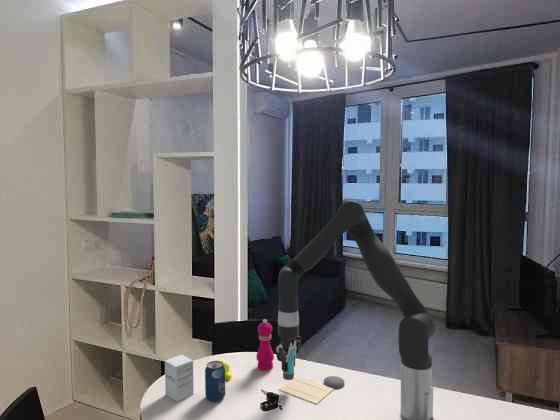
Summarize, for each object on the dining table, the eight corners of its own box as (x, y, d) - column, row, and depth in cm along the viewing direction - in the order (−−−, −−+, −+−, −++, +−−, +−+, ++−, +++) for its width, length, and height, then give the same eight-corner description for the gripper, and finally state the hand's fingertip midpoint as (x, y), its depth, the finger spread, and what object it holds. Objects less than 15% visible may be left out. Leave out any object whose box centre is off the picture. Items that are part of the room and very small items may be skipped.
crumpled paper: (214, 373, 152) (214, 354, 152) (233, 376, 150) (233, 356, 150) (208, 381, 146) (207, 361, 146) (227, 383, 144) (227, 363, 144)
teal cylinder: (296, 376, 139) (296, 344, 139) (289, 381, 136) (289, 348, 135) (287, 373, 142) (287, 341, 141) (280, 377, 138) (280, 345, 138)
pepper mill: (273, 371, 153) (273, 322, 152) (255, 371, 153) (255, 322, 152) (274, 363, 160) (274, 316, 159) (257, 363, 161) (256, 316, 159)
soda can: (224, 402, 131) (224, 368, 130) (204, 403, 131) (203, 369, 130) (226, 392, 138) (225, 359, 137) (206, 392, 138) (206, 360, 137)
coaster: (347, 382, 145) (347, 379, 144) (338, 390, 138) (338, 388, 138) (330, 376, 149) (330, 374, 149) (320, 384, 143) (320, 382, 143)
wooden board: (333, 389, 139) (333, 388, 139) (316, 404, 130) (316, 403, 130) (297, 376, 149) (297, 375, 149) (278, 390, 139) (278, 389, 139)
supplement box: (164, 394, 136) (163, 360, 136) (182, 386, 142) (182, 353, 141) (176, 402, 131) (175, 366, 131) (194, 394, 137) (193, 359, 136)
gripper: (285, 330, 130) (285, 379, 131) (307, 318, 141) (307, 364, 142) (268, 325, 134) (268, 373, 135) (291, 314, 146) (291, 358, 147)
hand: (288, 368), depth 139 cm, fingers closed on teal cylinder, 4 cm apart
